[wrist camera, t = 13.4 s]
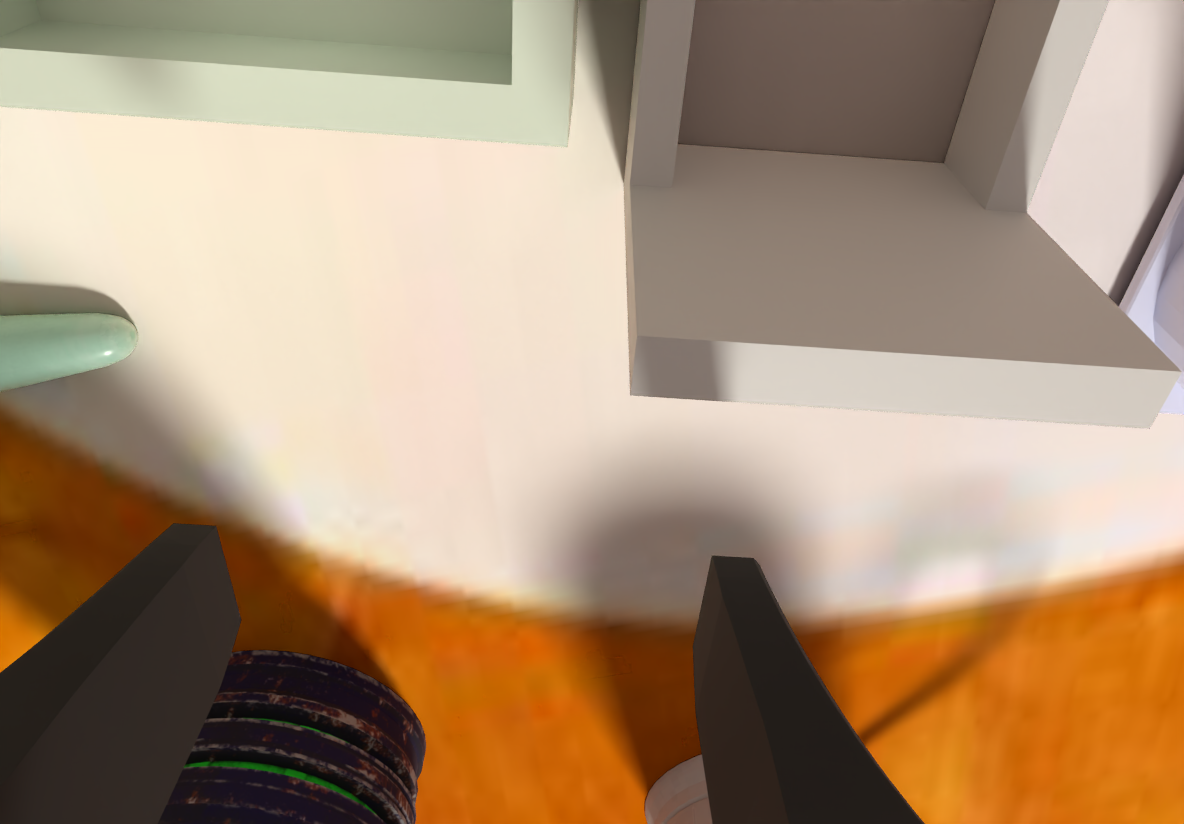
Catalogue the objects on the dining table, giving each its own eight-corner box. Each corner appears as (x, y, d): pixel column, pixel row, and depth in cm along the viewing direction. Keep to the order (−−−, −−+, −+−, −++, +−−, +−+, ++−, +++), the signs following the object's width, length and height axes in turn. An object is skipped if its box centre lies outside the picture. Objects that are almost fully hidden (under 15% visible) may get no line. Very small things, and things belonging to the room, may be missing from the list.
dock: (1058, -62, 16) (1369, 44, 9) (965, 209, 19) (1150, 429, 12) (648, -93, 16) (676, -9, 9) (623, 185, 19) (630, 395, 12)
